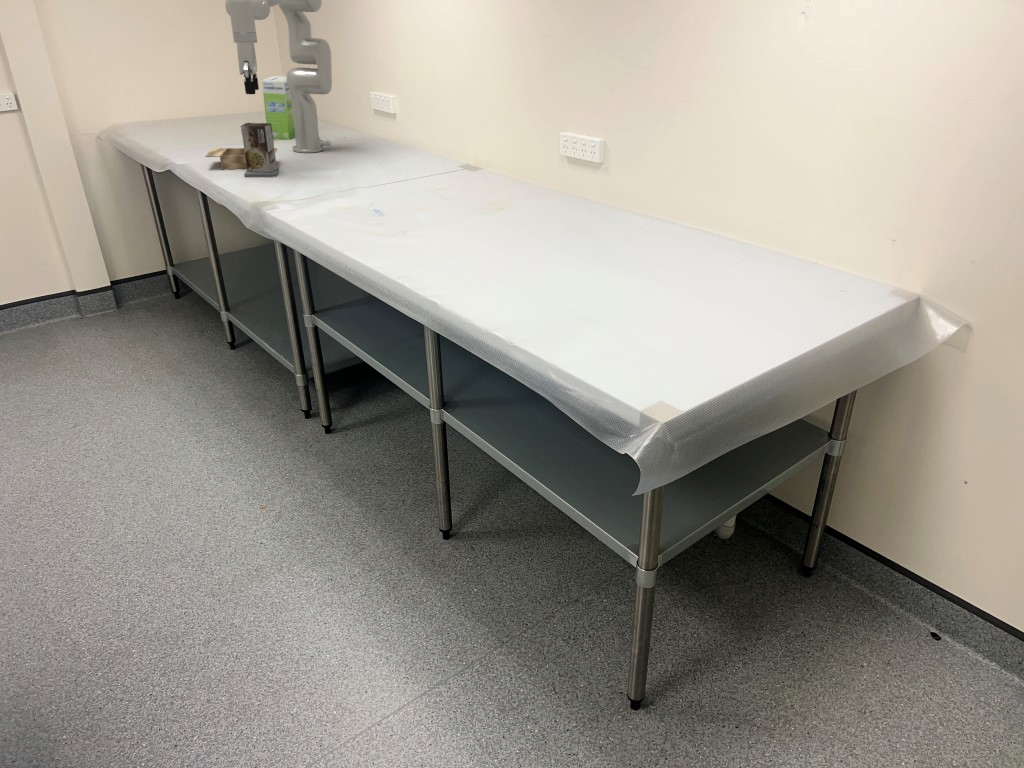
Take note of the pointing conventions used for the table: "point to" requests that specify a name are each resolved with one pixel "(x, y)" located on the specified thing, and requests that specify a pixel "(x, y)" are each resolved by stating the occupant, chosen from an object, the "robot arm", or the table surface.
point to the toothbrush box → (278, 107)
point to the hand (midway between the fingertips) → (252, 91)
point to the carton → (230, 157)
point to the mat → (261, 173)
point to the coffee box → (259, 147)
